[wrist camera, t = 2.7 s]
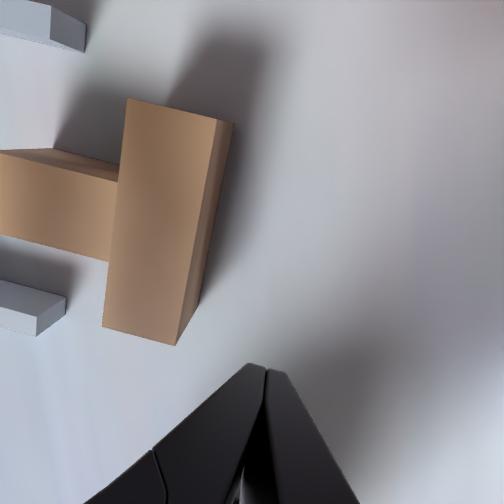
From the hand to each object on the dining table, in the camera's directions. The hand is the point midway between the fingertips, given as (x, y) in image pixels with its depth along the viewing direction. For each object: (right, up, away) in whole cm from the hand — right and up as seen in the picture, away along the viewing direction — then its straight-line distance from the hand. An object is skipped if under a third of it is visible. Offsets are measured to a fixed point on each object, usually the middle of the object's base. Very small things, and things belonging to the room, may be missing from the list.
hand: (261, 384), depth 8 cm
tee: (-7, +5, +11) cm, 14 cm away
